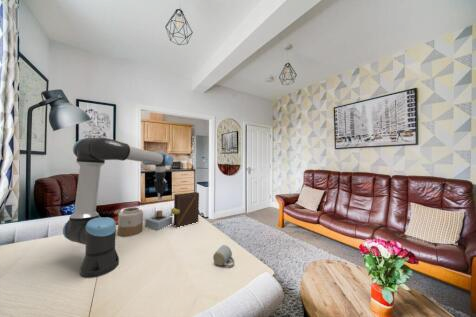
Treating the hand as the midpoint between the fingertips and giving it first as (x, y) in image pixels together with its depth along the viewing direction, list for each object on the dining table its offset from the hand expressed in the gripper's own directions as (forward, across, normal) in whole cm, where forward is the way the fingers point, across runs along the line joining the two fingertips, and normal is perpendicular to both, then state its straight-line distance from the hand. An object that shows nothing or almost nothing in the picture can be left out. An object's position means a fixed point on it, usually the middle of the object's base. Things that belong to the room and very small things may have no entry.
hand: (159, 201), depth 142 cm
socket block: (+20, 0, +1) cm, 20 cm away
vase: (+20, +8, +19) cm, 28 cm away
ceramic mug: (+20, -70, +20) cm, 76 cm away
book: (+20, -16, -11) cm, 28 cm away
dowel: (+15, 0, +1) cm, 15 cm away
